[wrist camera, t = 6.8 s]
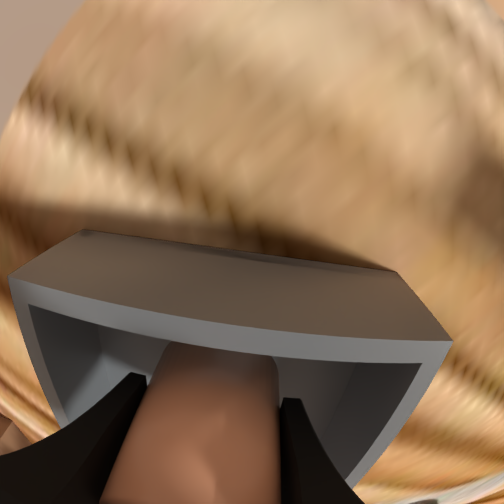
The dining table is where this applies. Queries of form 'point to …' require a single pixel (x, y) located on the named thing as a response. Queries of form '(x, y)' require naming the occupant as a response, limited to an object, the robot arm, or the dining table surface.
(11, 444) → the walnut cube
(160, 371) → the tan rounded piece
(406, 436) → the dining table surface
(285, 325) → the grey tote
